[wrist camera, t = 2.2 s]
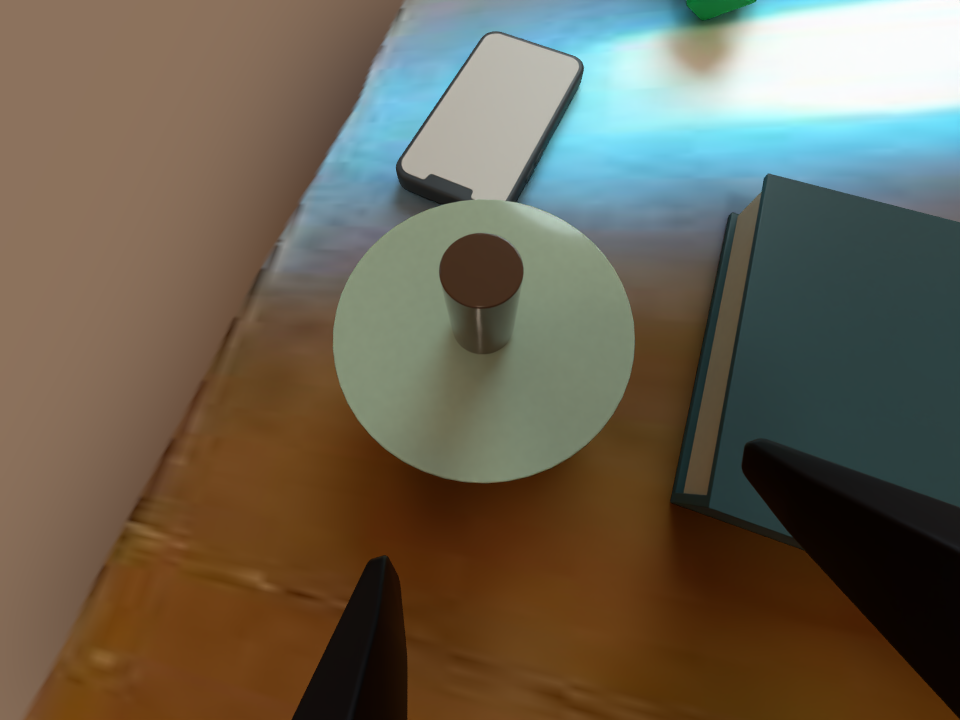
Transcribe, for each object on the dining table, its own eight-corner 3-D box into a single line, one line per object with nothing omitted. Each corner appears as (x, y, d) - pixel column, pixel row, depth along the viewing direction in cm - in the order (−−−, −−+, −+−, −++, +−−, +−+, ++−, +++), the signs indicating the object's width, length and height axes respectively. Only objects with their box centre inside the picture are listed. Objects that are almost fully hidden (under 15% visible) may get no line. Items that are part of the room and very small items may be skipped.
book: (977, 612, 20) (1093, 644, 16) (669, 502, 22) (708, 507, 18) (976, 282, 25) (1063, 248, 22) (728, 215, 27) (768, 173, 23)
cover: (673, 431, 17) (771, 407, 11) (373, 523, 16) (308, 551, 10) (568, 187, 21) (600, 73, 15) (320, 251, 20) (250, 158, 14)
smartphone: (486, 46, 33) (391, 188, 28) (486, 24, 31) (386, 171, 27) (585, 79, 31) (502, 232, 27) (591, 58, 30) (504, 217, 25)
